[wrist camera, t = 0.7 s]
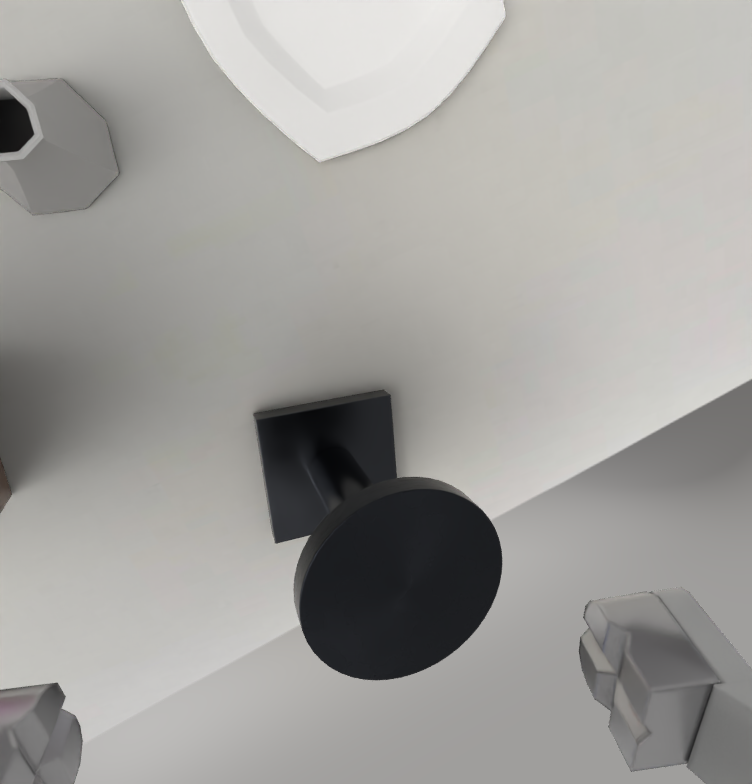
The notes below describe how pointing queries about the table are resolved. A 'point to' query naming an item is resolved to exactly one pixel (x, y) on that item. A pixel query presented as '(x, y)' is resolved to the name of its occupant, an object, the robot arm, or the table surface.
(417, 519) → the display stand
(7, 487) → the pedestal
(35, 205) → the flask
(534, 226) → the table surface
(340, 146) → the plate
